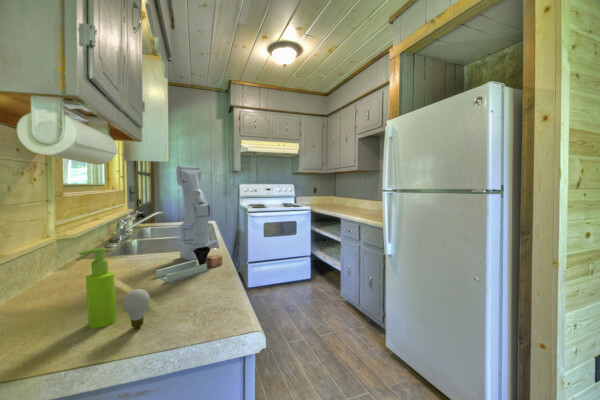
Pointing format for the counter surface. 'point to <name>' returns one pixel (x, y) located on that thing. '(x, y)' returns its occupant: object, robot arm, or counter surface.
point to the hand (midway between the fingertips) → (202, 265)
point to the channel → (181, 271)
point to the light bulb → (136, 306)
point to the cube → (214, 260)
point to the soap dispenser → (100, 291)
